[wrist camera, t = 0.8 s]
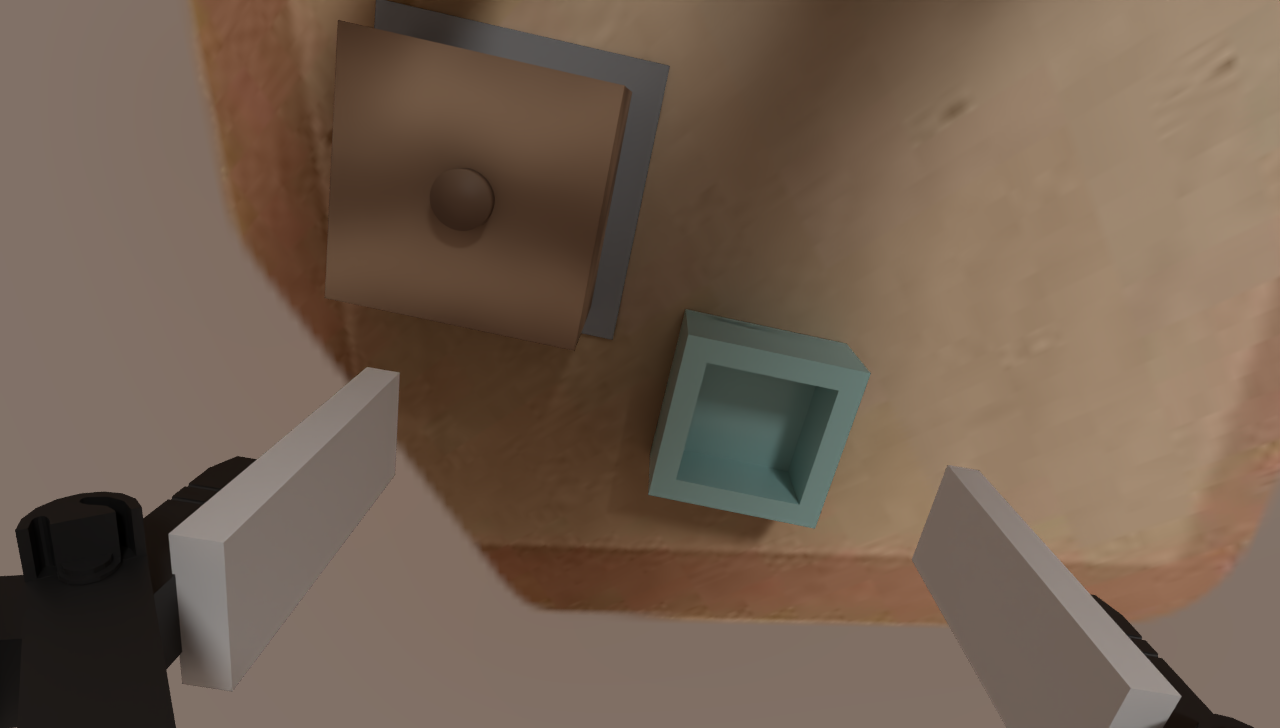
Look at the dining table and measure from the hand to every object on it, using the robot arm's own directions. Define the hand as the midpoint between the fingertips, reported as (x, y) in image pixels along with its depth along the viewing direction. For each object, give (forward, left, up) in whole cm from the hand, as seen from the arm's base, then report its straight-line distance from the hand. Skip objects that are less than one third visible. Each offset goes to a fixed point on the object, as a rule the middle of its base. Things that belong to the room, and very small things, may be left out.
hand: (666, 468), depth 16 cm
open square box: (+6, +6, -21) cm, 22 cm away
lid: (-3, -9, -20) cm, 23 cm away
